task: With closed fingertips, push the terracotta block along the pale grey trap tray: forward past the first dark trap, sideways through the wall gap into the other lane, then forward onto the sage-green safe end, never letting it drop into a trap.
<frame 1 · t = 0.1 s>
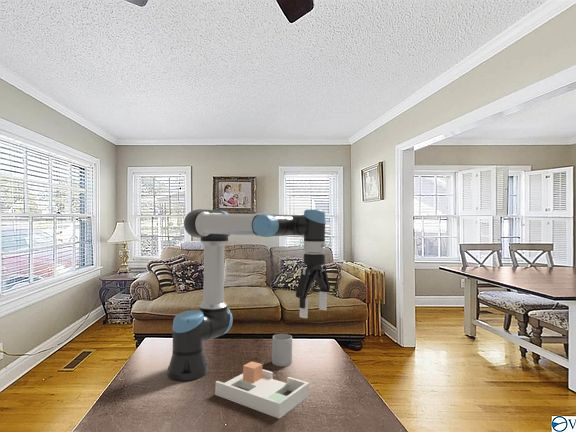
hand: (313, 313, 130), 28 cm above the table, fingers open, 13 cm apart
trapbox: (262, 395, 127), on the table
mug: (283, 361, 159), on the table
block: (252, 378, 135), point 2 cm above the table, touching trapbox
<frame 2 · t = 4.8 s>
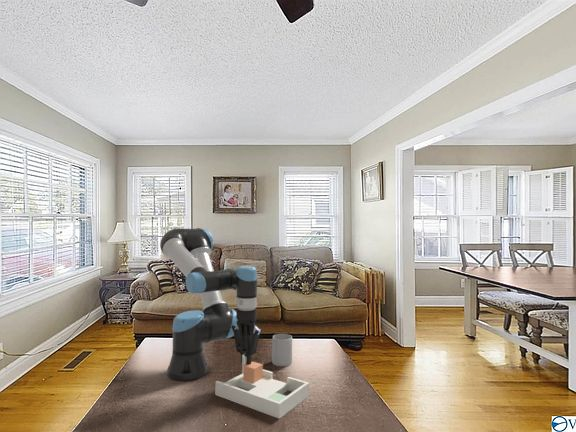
hand: (246, 372, 136), 4 cm above the table, fingers closed
block: (253, 378, 135), point 3 cm above the table, touching gripper, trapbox
everything else where it was.
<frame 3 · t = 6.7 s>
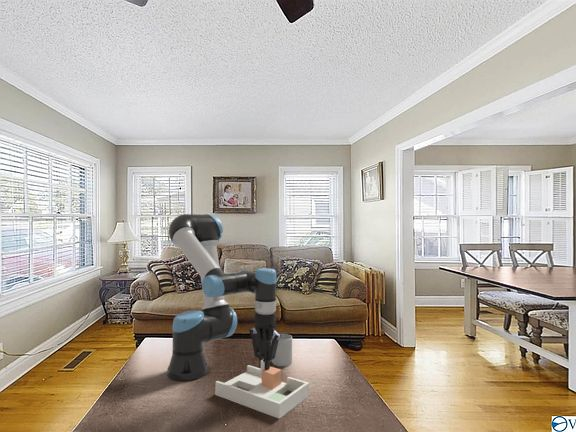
hand: (264, 378, 132), 4 cm above the table, fingers closed
block: (271, 384, 130), point 2 cm above the table, touching gripper, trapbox
everything else where it was.
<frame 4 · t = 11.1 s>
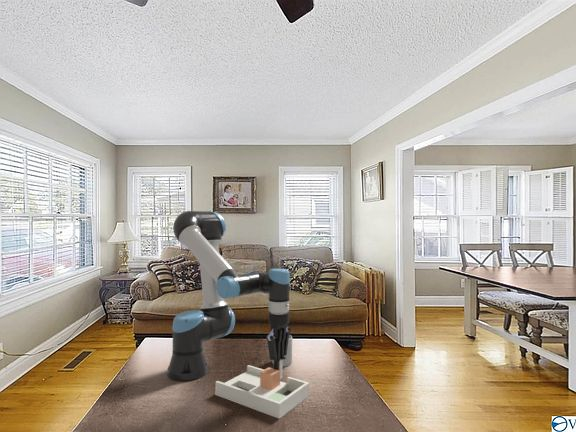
hand: (278, 377, 133), 4 cm above the table, fingers closed
nothing on the table moved.
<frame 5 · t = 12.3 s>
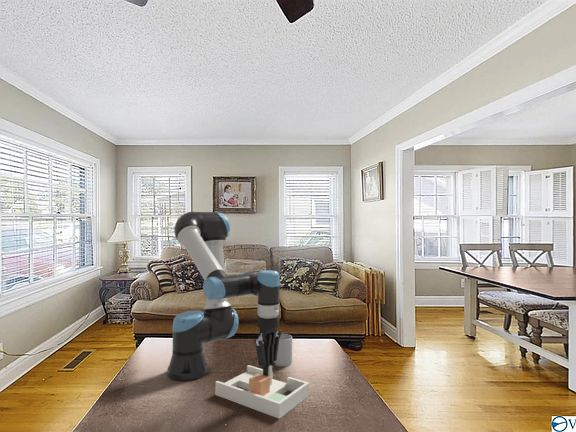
hand: (267, 384, 127), 4 cm above the table, fingers closed
block: (259, 392, 124), point 3 cm above the table, touching gripper, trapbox
everything else where it was.
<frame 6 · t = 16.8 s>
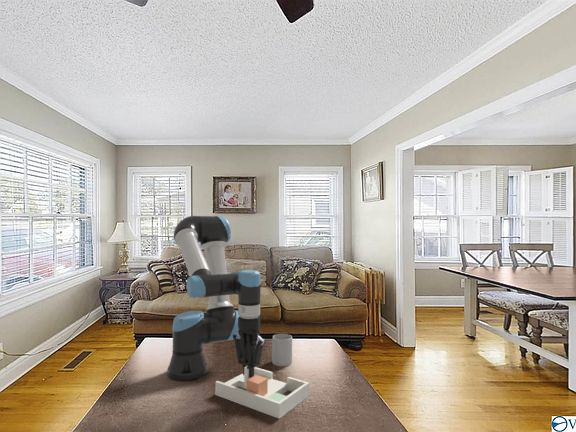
hand: (248, 385, 125), 4 cm above the table, fingers closed
block: (256, 394, 123), point 2 cm above the table, touching gripper, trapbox
everything else where it was.
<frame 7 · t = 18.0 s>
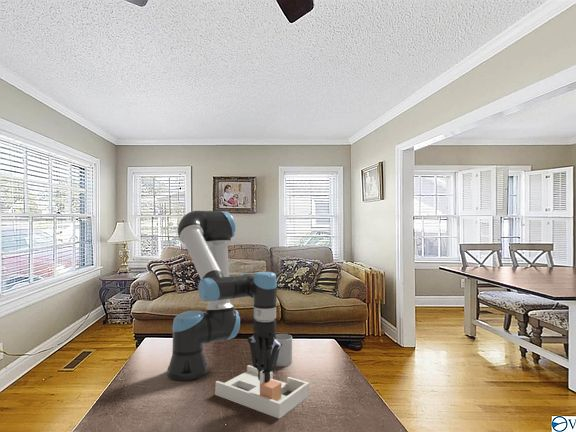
hand: (263, 390, 122), 4 cm above the table, fingers closed
block: (270, 399, 119), point 2 cm above the table, touching gripper, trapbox
everything else where it was.
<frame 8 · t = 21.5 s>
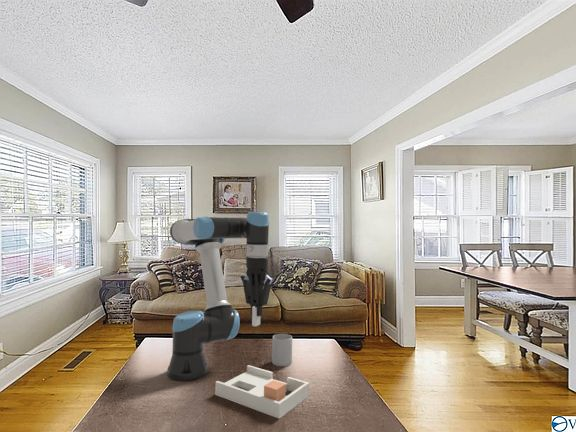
hand: (256, 325, 127), 24 cm above the table, fingers closed
block: (274, 400, 119), point 2 cm above the table, touching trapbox
everything else where it was.
at the end: block 0.8 cm from the target spot on the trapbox, point 2.5 cm above the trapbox's base; block tilted 0° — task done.
